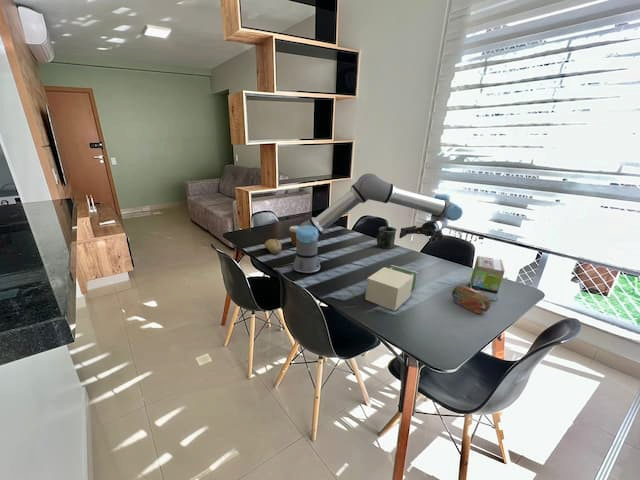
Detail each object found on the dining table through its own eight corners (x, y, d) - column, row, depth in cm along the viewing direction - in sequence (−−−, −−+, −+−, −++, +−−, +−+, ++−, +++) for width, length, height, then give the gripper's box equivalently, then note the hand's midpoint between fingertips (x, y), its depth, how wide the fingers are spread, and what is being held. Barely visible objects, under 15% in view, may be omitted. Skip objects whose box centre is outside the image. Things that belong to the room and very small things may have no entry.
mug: (397, 247, 190) (400, 229, 186) (382, 251, 184) (384, 233, 179) (384, 242, 199) (386, 225, 195) (369, 246, 192) (371, 229, 188)
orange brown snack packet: (450, 299, 128) (454, 283, 125) (454, 298, 129) (459, 281, 126) (483, 317, 115) (489, 299, 112) (488, 315, 117) (494, 297, 113)
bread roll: (274, 246, 196) (274, 235, 193) (285, 253, 183) (285, 241, 180) (261, 248, 191) (261, 237, 188) (271, 256, 179) (271, 244, 176)
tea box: (496, 301, 126) (505, 271, 121) (469, 295, 131) (476, 266, 126) (494, 287, 138) (502, 258, 133) (469, 282, 143) (476, 254, 138)
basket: (393, 277, 147) (395, 262, 144) (418, 285, 139) (421, 269, 135) (375, 291, 135) (377, 274, 131) (402, 301, 126) (405, 283, 123)
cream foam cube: (381, 287, 140) (384, 267, 136) (409, 297, 131) (413, 275, 127) (365, 299, 130) (367, 278, 126) (394, 311, 121) (398, 288, 117)
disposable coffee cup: (302, 246, 194) (302, 229, 189) (288, 246, 196) (288, 229, 191) (303, 242, 202) (304, 225, 198) (290, 241, 204) (290, 225, 200)
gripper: (456, 239, 144) (441, 251, 130) (406, 230, 160) (388, 240, 147) (458, 224, 141) (443, 235, 127) (408, 217, 158) (389, 226, 144)
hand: (414, 238), depth 137 cm, fingers open, 13 cm apart
